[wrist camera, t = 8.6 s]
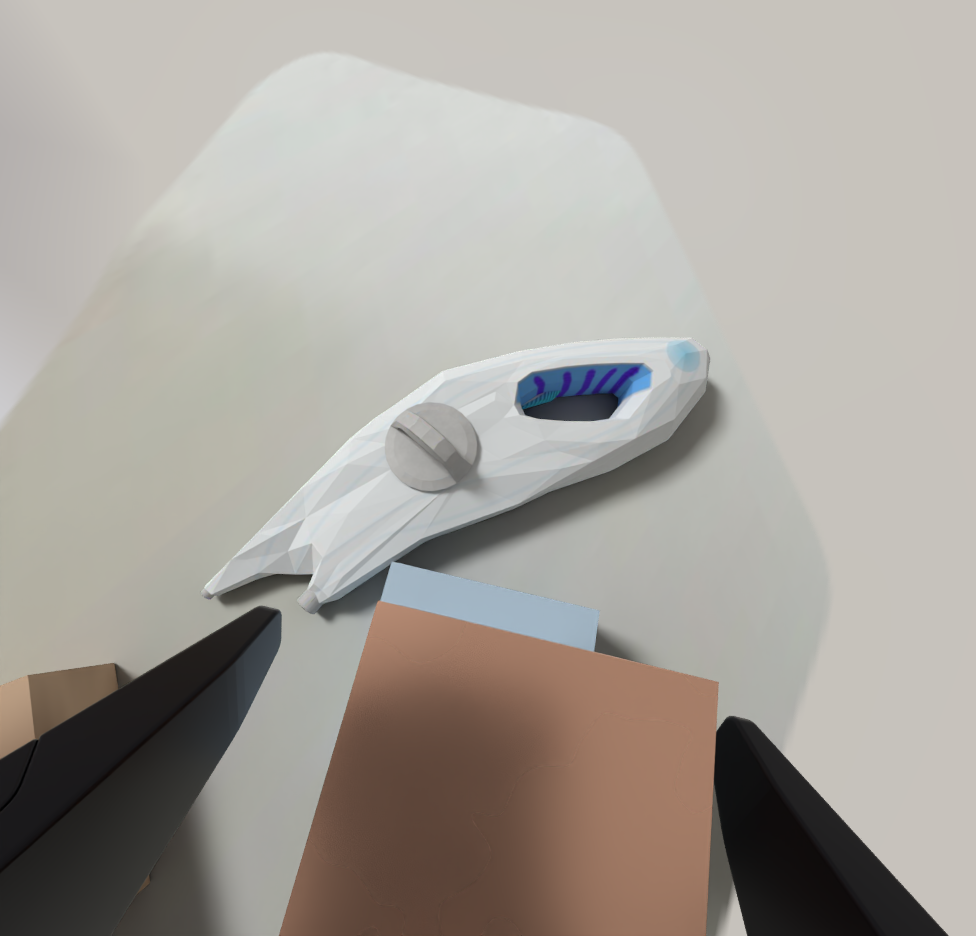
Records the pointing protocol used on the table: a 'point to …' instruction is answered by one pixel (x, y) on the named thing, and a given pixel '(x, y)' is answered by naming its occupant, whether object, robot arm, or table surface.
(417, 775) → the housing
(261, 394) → the table surface
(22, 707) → the stand
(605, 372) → the spaceship
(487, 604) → the stand
